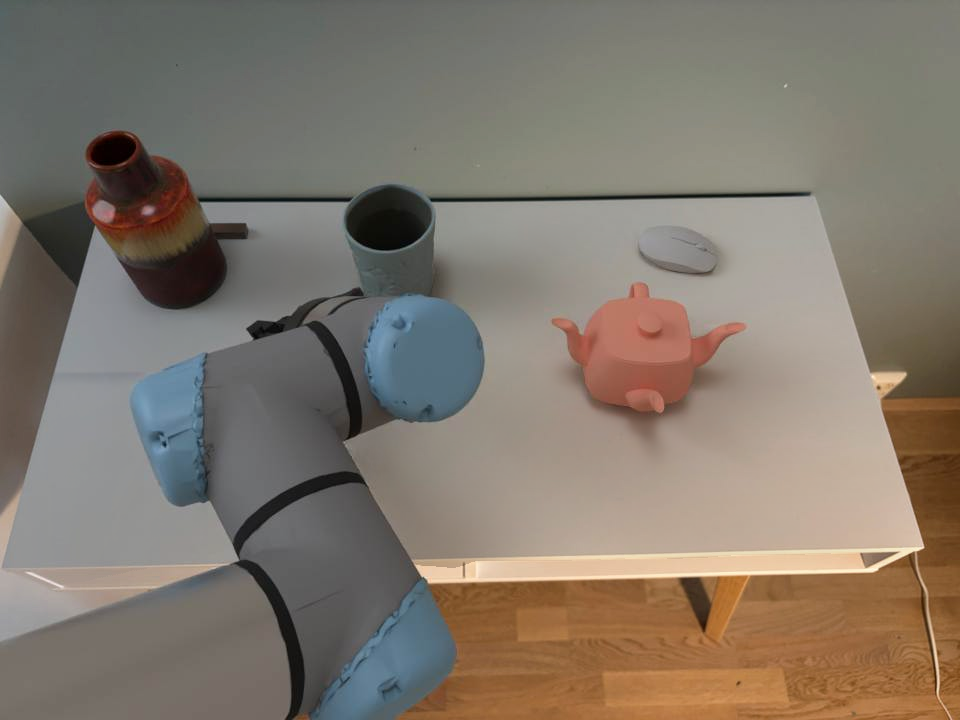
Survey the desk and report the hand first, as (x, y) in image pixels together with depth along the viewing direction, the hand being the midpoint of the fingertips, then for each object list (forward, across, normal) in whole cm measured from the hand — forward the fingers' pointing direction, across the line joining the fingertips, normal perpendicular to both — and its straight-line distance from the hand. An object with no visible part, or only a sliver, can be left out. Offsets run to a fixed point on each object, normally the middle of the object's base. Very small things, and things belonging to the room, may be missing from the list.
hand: (259, 335), depth 75 cm
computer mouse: (-9, +46, -22) cm, 51 cm away
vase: (+21, +1, +8) cm, 22 cm away
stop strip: (+24, +5, +11) cm, 26 cm away
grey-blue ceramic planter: (+6, +18, -6) cm, 21 cm away
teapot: (-14, +27, -27) cm, 41 cm away
